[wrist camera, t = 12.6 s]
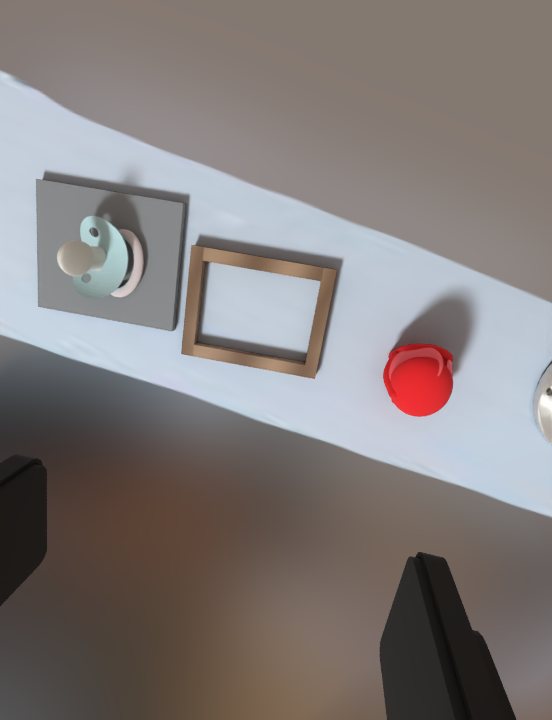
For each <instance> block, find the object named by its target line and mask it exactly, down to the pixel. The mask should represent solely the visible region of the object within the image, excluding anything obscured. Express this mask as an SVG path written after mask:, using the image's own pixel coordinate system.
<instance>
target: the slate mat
mask: <svg viewBox="0 0 552 720" xmlns="http://www.w3.org/2000/svg"><path fill="white" fill-rule="evenodd" d="M36 204H37V261H38V307H43V308H48V309H54V310H59V311H65V312H70V313H75V314H81V315H86V316H92V317H97V318H103V319H108V320H114V321H119V322H124V323H130V324H135V325H141V326H146V327H152V328H157V329H163V330H168V331H173V330H175V323H176V312H177V300H178V289H179V278H180V266H181V255H182V243H183V232H184V221H185V209H186V204H184V203H179V202H173V201H167V200H161V199H155V198H149V197H143V196H137V195H131V194H125V193H119V192H113V191H107V190H101V189H95V188H89V187H83V186H77V185H71V184H65V183H59V182H53V181H47V180H40V179H36ZM89 216H97V217H101V218H103V219H105V220H107V221H109V222H110V223H111V224H113V225H114V226H115V227H116V228H117V229H118V230H120V229H126V230H129V231H131V232H133V233H134V234H135V236H136V237H137V238H138V240H139V242H140V244H141V246H142V250H143V256H144V265H143V272H142V275H141V278H140V281H139V283H138V285H137V286H136V288H135V289H134V290H133V291H132V292H131V293H130V294H128V295H127V296H124V297H114V296H113V295H111V294H109V295H107V296H105V297H100V298H87V297H84V296H82V295H80V294H79V293H78V292H77V291H76V289H75V287H74V285H73V276H71V275H69V274H67V273H65V272H64V271H63V270H62V269H61V268H60V266H59V264H58V261H57V253H58V251H59V249H60V247H61V246H62V245H63V244H65V243H67V242H69V241H74V240H77V241H82V240H81V235H80V227H81V223H82V221H83V220H84V219H85V218H86V217H89ZM91 233H92V235H93V236H95V237H98V235H99V233H98V230H97V229H96V228H94V227H93V228H92V229H91ZM124 240H125V239H124ZM125 243H126V245H127V249H128V259H129V260H128V268H127V272H126V275H125V277H124V280H123V281H122V283H121V284H120V286H119V287H118V288H121V287H123V286H124V285H125V284H126V283H127V282H128V281H129V279H130V277H131V275H132V271H133V267H134V255H133V250H132V248H131V246H130V244H129V243H128V242H127V240H125ZM83 280H84V281H85V282H86V283H88V282H90V280H91V275H90V274H85V275H84V277H83Z"/></svg>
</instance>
